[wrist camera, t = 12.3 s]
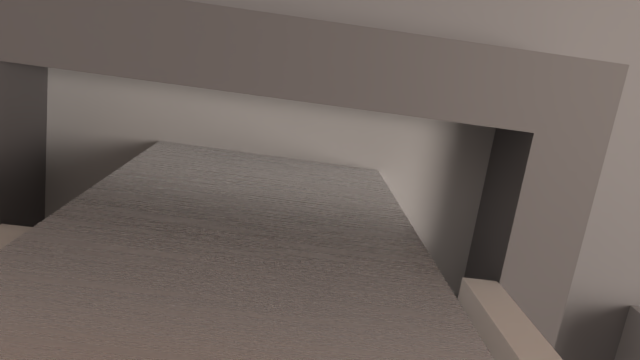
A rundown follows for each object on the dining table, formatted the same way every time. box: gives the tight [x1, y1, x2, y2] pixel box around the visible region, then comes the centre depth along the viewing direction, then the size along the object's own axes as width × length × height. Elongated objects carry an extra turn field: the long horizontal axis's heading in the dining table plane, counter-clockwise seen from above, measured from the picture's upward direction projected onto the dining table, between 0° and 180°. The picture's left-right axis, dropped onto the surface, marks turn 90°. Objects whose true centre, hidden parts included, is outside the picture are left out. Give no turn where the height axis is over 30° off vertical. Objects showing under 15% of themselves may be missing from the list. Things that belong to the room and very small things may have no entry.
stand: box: [0, 0, 640, 360], centre depth 13 cm, size 28×18×6 cm, turn 82°
